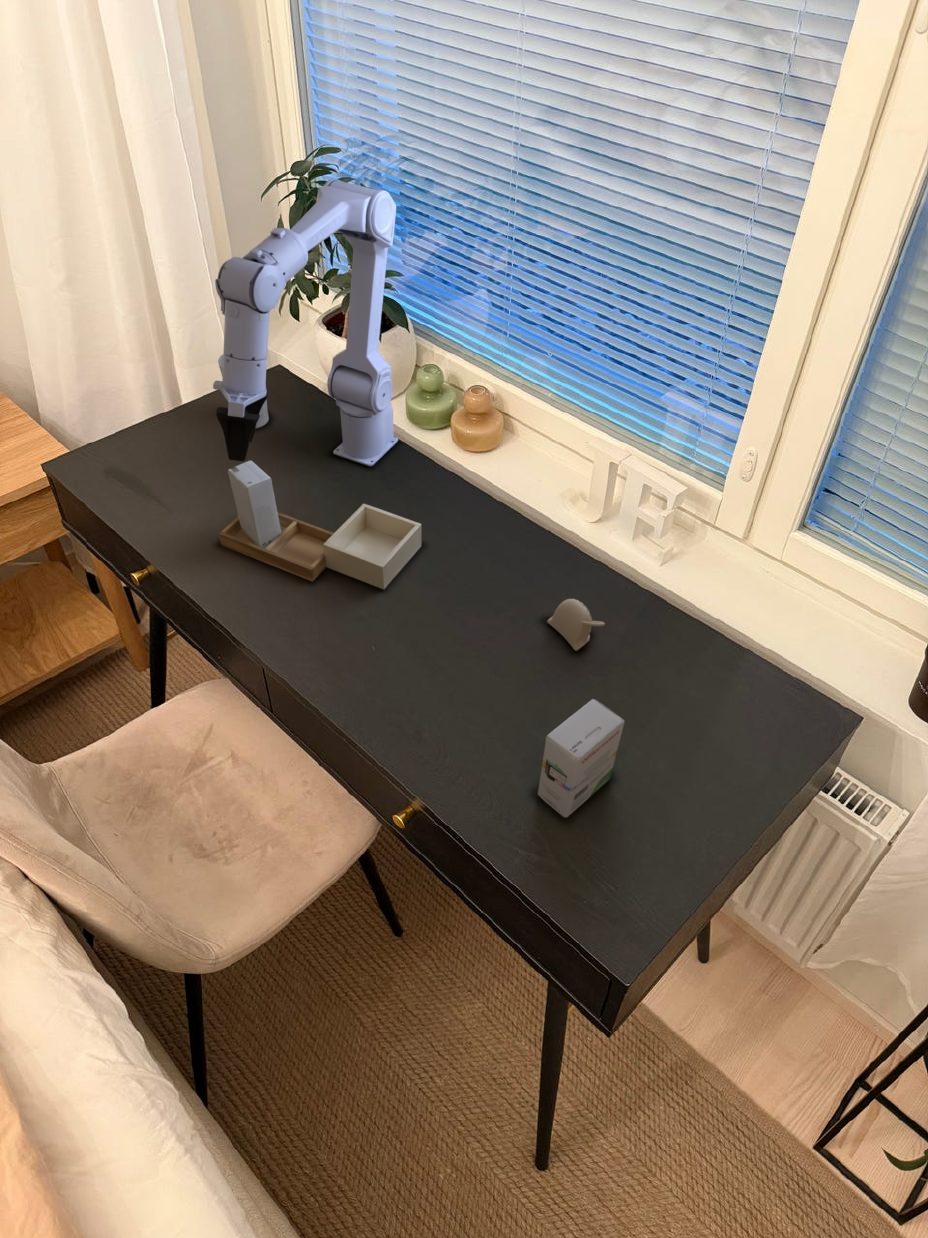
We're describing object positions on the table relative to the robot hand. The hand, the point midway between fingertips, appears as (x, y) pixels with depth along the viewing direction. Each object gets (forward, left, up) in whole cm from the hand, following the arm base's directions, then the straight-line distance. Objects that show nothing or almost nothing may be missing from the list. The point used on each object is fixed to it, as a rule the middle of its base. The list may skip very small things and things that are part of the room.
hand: (240, 450), depth 127 cm
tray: (-1, +4, -18) cm, 18 cm away
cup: (-28, -22, -18) cm, 40 cm away
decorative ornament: (-6, +51, -18) cm, 54 cm away
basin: (-6, +17, -18) cm, 25 cm away
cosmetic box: (-1, 0, -17) cm, 17 cm away
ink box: (+18, +61, -18) cm, 66 cm away
